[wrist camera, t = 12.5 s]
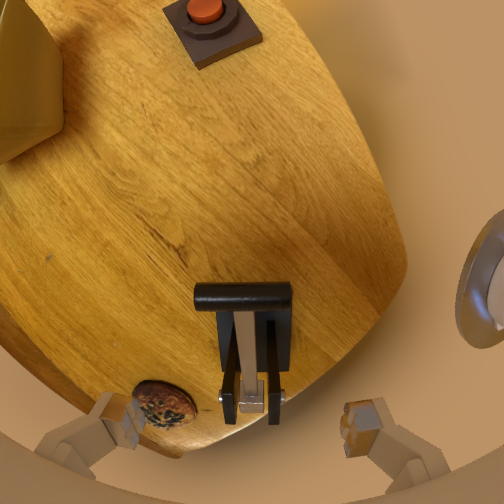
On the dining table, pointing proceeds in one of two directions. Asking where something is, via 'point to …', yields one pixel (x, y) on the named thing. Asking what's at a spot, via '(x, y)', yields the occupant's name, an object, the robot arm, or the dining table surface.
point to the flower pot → (27, 81)
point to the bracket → (267, 354)
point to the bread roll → (164, 405)
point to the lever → (245, 325)
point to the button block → (213, 32)
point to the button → (205, 10)
